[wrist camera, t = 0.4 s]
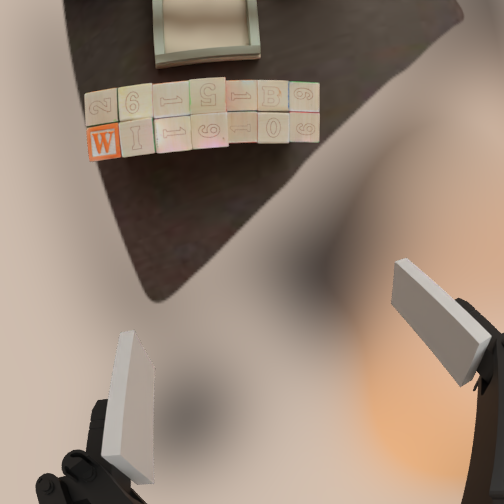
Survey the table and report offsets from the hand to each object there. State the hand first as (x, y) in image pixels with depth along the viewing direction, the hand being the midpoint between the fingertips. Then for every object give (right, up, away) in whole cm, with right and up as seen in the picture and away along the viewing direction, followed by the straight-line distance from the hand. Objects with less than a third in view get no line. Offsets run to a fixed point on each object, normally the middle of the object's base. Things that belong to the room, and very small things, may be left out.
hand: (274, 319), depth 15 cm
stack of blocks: (-6, +20, +20) cm, 29 cm away
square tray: (-7, +31, +14) cm, 35 cm away
